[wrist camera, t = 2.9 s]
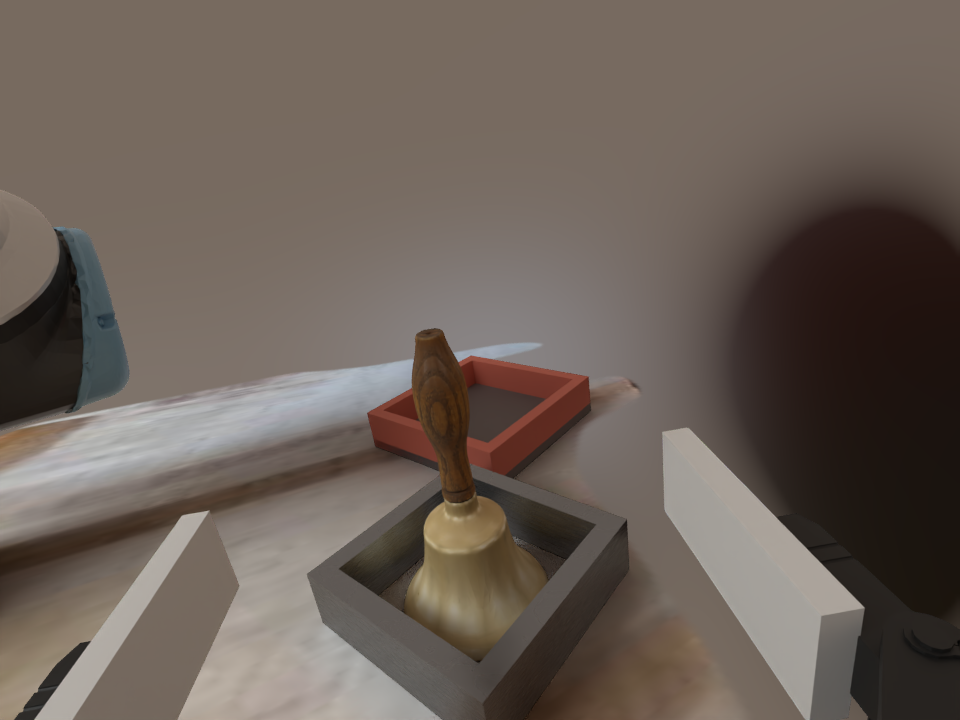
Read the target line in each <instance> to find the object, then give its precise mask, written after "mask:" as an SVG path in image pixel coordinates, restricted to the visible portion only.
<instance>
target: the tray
mask: <svg viewBox="0 0 960 720" xmlns="http://www.w3.org/2000/svg"><path fill="white" fill-rule="evenodd" d="M458 363H459V365H460V367H461V369H462V372H463V374H464V377H465V381H466V386H467V391H468V397H469V408H470V420H469V429H468V435H467V455H468V459H469V463H470V464H473V465H476V466H478V467H481V468H484V469H487V470H490V471H493V472H495V473H498V474H501V475H504V476H507V477H509V478H512V479H513V478H514V477H515V476H516V475H517V474H518V473H520V472H521V471H522V470H523V469H524V468H525V467H526V466H528V465H529V464H530V463H531V462H532V461H533V460H534V459H536V458H537V457H538V456H539V455H540V454H541V453H543V452H544V451H545V450H546V449H547V448H548V447H549V446H551V445H552V444H553V443H554V442H555V441H556V440H557V439H559V438H560V437H561V436H562V435H563V434H564V433H566V432H567V431H568V430H569V429H570V428H571V427H572V426H574V425H575V424H576V423H577V422H578V421H579V420H580V419H582V418H583V417H584V416H585V415H586V414H587V413H589V412H590V411H591V406H590V392H589V377H587V376H582V375H577V374H571V373H565V372H559V371H554V370H549V369H543V368H537V367H531V366H526V365H520V364H515V363H509V362H504V361H498V360H492V359H487V358H481V357H476V356H469V357H468V358H466V359H464V360H462V361H460V362H458ZM367 414H368V418H369V422H370V426H371V430H372V435H373V439H374V443H375V446H376V447H379V448H381V449H384V450H386V451H389V452H392V453H394V454H397V455H399V456H402V457H405V458H407V459H410V460H412V461H415V462H417V463H420V464H423V465H425V466H428V467H430V468H433V469H436V470H438V471H439V466H438V460H437V456H436V453H435V451H434V448H433V446H432V444H431V443H430V441H429V439H428V438H427V436H426V434H425V432H424V430H423V428H422V426H421V423H420V421H419V418H418V415H417V412H416V408H415V403H414V399H413V392H412V388H411V389H410V390H408V391H406V392H404V393H402V394H400V395H399V396H397V397H395V398H393V399H391V400H390V401H388V402H386V403H384V404H382V405H381V406H379V407H377V408H375V409H373V410H371V411H370V412H368V413H367Z"/></svg>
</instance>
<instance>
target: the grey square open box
mask: <svg viewBox="0 0 960 720" xmlns="http://www.w3.org/2000/svg"><path fill="white" fill-rule="evenodd" d="M469 464H470V463H469ZM470 468H471V472H472V477H473V481H474V485H475V491H476V495H477V496H482V497H485V498H488V499H491V500H493V501H494V502H496V503H497V504H498V505H499V506H500V507H501V508H502V509H503V511H504V513H505V516H506V518H507V522H508V526H509V529H510V532H511V535H513V536H515V537H517V538H520V539H522V540H524V541H526V542H529V543H531V544H533V545H535V546H538V547H540V548H542V549H544V550H547V551H549V552H551V553H553V554H556V555H558V556H560V557H563V558H565V559H567V560H566V561H565V562H564V564H563V565H562V566H561V567H560V568H559V569H558V571H557V572H556V573H555V574H554V575H553V577H552V578H551V579H550V580H549V581H548V583H547V584H546V585H545V586H544V587H543V588H542V590H541V591H540V592H539V593H538V594H537V596H536V597H535V598H534V599H533V600H532V601H531V603H530V604H529V605H528V606H527V607H526V609H525V610H524V611H523V612H522V613H521V615H520V616H519V617H518V618H517V619H516V620H515V622H514V623H513V624H512V625H511V626H510V628H509V629H508V630H507V631H506V632H505V634H504V635H503V636H502V637H501V638H500V639H499V641H498V642H497V643H496V644H495V645H494V647H493V648H492V649H491V650H490V651H489V652H488V654H487V655H486V656H485V657H484V658H483V660H482V661H481V662H480V663H477V662H476V661H474V660H473V659H471V658H470V657H468V656H467V655H465V654H464V653H462V652H461V651H459V650H458V649H456V648H455V647H453V646H452V645H450V644H449V643H447V642H446V641H445V640H443V639H442V638H440V637H439V636H437V635H436V634H434V633H433V632H431V631H430V630H428V629H427V628H425V627H424V626H422V625H421V624H419V623H418V622H416V621H415V620H413V619H412V618H410V617H409V616H407V615H406V614H404V613H403V612H401V611H400V610H399V609H397V608H396V607H394V606H393V605H391V604H390V603H388V602H387V601H385V600H384V599H382V598H381V597H379V596H378V595H379V594H380V593H382V592H383V591H384V590H385V589H386V588H387V587H388V586H390V585H391V584H392V583H393V582H394V581H395V580H396V579H398V578H399V577H400V576H401V575H402V574H403V573H405V572H406V571H407V570H408V569H409V568H410V567H411V566H413V565H414V564H415V563H416V562H417V561H418V560H419V559H421V558H422V557H423V556H424V555H425V544H424V525H425V521H426V519H427V517H428V516H429V514H430V513H431V512H432V511H433V510H434V509H435V508H436V507H437V506H438V505H440V504H441V503H443V502H445V501H444V497H443V494H442V485H441V479H440V476H438V477H437V478H436V479H434V480H433V481H431V482H430V483H429V484H427V485H426V486H425V487H423V488H422V489H421V490H419V491H418V492H417V493H415V494H414V495H413V496H411V497H410V498H409V499H407V500H406V501H405V502H403V503H402V504H401V505H399V506H398V507H397V508H395V509H394V510H393V511H391V512H390V513H388V514H387V515H386V516H384V517H383V518H382V519H380V520H379V521H378V522H376V523H375V524H374V525H372V526H371V527H370V528H368V529H367V530H366V531H364V532H363V533H362V534H360V535H359V536H358V537H356V538H355V539H354V540H352V541H351V542H350V543H348V544H347V545H346V546H344V547H343V548H341V549H340V550H339V551H337V552H336V553H335V554H333V555H332V556H331V557H329V558H328V559H327V560H325V561H324V562H323V563H321V564H320V565H319V566H317V567H316V568H315V569H313V570H312V571H311V572H309V573H308V574H307V576H308V579H309V582H310V585H311V588H312V591H313V594H314V597H315V600H316V603H317V606H318V609H319V612H320V615H321V618H322V621H323V623H324V624H325V625H327V626H328V627H329V628H330V629H332V630H333V631H334V632H335V633H337V634H338V635H339V636H340V637H342V638H343V639H344V640H345V641H346V642H348V643H349V644H350V645H351V646H353V647H354V648H355V649H356V650H358V651H359V652H360V653H361V654H362V655H364V656H365V657H366V658H367V659H369V660H370V661H371V662H372V663H374V664H375V665H376V666H377V667H378V668H380V669H381V670H382V671H383V672H385V673H386V674H387V675H388V676H390V677H391V678H392V679H393V680H394V681H396V682H397V683H398V684H399V685H401V686H402V687H403V688H404V689H406V690H407V691H408V692H409V693H410V694H412V695H413V696H414V697H415V698H417V699H418V700H419V701H420V702H422V703H423V704H424V705H425V706H426V707H428V708H429V709H430V710H431V711H433V712H434V713H435V714H436V715H438V716H439V717H440V718H441V719H442V720H524V719H525V717H526V716H527V714H528V713H529V711H530V710H531V709H532V707H533V706H534V704H535V703H536V701H537V700H538V699H539V697H540V696H541V694H542V693H543V691H544V690H545V689H546V687H547V686H548V684H549V683H550V681H551V680H552V679H553V677H554V676H555V674H556V673H557V671H558V670H559V668H560V667H561V666H562V664H563V663H564V661H565V660H566V658H567V657H568V656H569V654H570V653H571V651H572V650H573V648H574V647H575V646H576V644H577V643H578V641H579V640H580V638H581V637H582V636H583V634H584V633H585V631H586V630H587V628H588V627H589V626H590V624H591V623H592V621H593V620H594V618H595V617H596V616H597V614H598V613H599V611H600V610H601V608H602V607H603V606H604V604H605V603H606V601H607V600H608V598H609V597H610V596H611V594H612V593H613V591H614V590H615V588H616V587H617V586H618V584H619V583H620V581H621V580H622V578H623V577H624V576H625V574H626V573H627V571H628V570H629V555H628V533H627V519H625V518H622V517H619V516H616V515H614V514H611V513H608V512H605V511H602V510H599V509H597V508H594V507H591V506H588V505H585V504H583V503H580V502H577V501H574V500H571V499H569V498H566V497H563V496H560V495H557V494H554V493H552V492H549V491H546V490H543V489H540V488H538V487H535V486H532V485H529V484H526V483H524V482H521V481H518V480H515V479H512V478H509V477H507V476H504V475H501V474H498V473H495V472H493V471H490V470H487V469H484V468H481V467H478V466H476V465H473V464H470Z"/></svg>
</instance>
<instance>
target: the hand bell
mask: <svg viewBox="0 0 960 720" xmlns="http://www.w3.org/2000/svg"><path fill="white" fill-rule="evenodd" d="M415 342H416V346H415V357H414V363H413V370H412V392H413V399H414V403H415V408H416V412H417V415H418V418H419V421H420V423H421V426H422V428H423V430H424V432H425V434H426V436H427V438H428V439H429V441H430V443H431V444H432V446H433V448H434V451H435V453H436V456H437V460H438V466H439V472H440V479H441V485H442V494H443V497H444V501H445V502H443V503H441V504H440V505H438V506H437V507H436V508H435V509H434V510H433V511H432V512H431V513H430V514H429V516H428V517H427V519H426V521H425V525H424V544H425V555H424V564H423V565H422V566H421V567H420V568H419V570H418V571H417V572H416V574H415V575H414V577H413V579H412V580H411V583H410V585H409V587H408V590H407V593H406V596H405V602H404V614H406V615H407V616H409V617H410V618H412V619H413V620H415V621H416V622H418V623H419V624H421V625H422V626H424V627H425V628H427V629H428V630H430V631H431V632H433V633H434V634H436V635H437V636H439V637H440V638H442V639H443V640H445V641H446V642H447V643H449V644H450V645H452V646H453V647H455V648H456V649H458V650H459V651H461V652H462V653H464V654H465V655H467V656H468V657H470V658H471V659H473V660H474V661H482V660H483V658H484V657H485V656H486V655H487V654H488V652H489V651H490V650H491V649H492V648H493V647H494V645H495V644H496V643H497V642H498V641H499V639H500V638H501V637H502V636H503V635H504V634H505V632H506V631H507V630H508V629H509V628H510V626H511V625H512V624H513V623H514V622H515V620H516V619H517V618H518V617H519V616H520V615H521V613H522V612H523V611H524V610H525V609H526V607H527V606H528V605H529V604H530V603H531V601H532V600H533V599H534V598H535V597H536V596H537V594H538V593H539V592H540V591H541V590H542V588H543V587H544V586H545V585H546V584H547V583H548V581H549V580H548V577H547V574H546V572H545V571H544V569H543V568H542V566H541V565H540V563H539V562H538V561H537V560H536V559H535V558H534V557H533V556H532V555H531V554H530V553H529V552H527V551H526V550H525V549H523V548H521V547H519V546H518V545H516V544H515V542H514V540H513V538H512V535H511V532H510V529H509V526H508V522H507V518H506V516H505V513H504V511H503V509H502V508H501V507H500V506H499V505H498V504H497V503H496V502H494V501H493V500H491V499H488V498H485V497H482V496H477V495H476V491H475V485H474V481H473V477H472V472H471V468H470V464H469V459H468V455H467V435H468V429H469V420H470V408H469V397H468V391H467V386H466V381H465V377H464V374H463V372H462V369H461V367H460V365H459V363H458V361H457V359H456V357H455V356H454V354H453V352H452V351H451V349H450V347H449V346H448V343H447V341H446V339H445V336H444V333H443V331H442V330H440V329H436V328H434V329H428V330H423V331H421V332H419V333H417V334H416V337H415Z"/></svg>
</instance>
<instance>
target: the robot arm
mask: <svg viewBox="0 0 960 720" xmlns="http://www.w3.org/2000/svg"><path fill="white" fill-rule="evenodd" d="M128 379H129V366H128V361H127V356H126V352H125V348H124V344H123V341H122V337H121V333H120V330H119V326H118V323H117V320H116V319H115V313H114V310H113V306H112V302H111V298H110V294H109V291H108V288H107V284H106V281H105V278H104V275H103V272H102V269H101V266H100V262H99V259H98V256H97V253H96V251H95V248H94V245H93V243H92V240H91V238H90V236H89V235H88V234H87V233H86V232H84V231H83V230H80V229H77V228H69V229H67V228H64V227H57V228H56V227H55V228H53V227H52V226H51V224H50V223H49V222H48V220H47V219H46V218H45V217H44V215H43V214H42V213H41V212H40V211H39V210H38V209H37V208H35V207H34V206H33V205H32V204H30V203H29V202H27V201H25V200H23V199H22V198H20V197H18V196H15V195H13V194H11V193H8V192H6V191H3V190H0V431H2V430H6V429H10V428H13V427H17V426H20V425H24V424H27V423H31V422H34V421H38V420H41V419H44V418H48V417H52V416H55V415H59V414H62V413H71V412H75V411H77V410H79V409H80V408H81V407H82V406H85V405H87V404H90V403H93V402H96V401H99V400H101V399H105V398H108V397H111V396H113V395H115V394H117V393H119V392H120V391H121V390H122V389H123V388H124V387H125V385H126V384H127V382H128ZM662 436H663V475H664V510H665V512H666V513H667V515H668V516H669V518H670V519H671V521H672V522H673V524H674V525H675V527H676V528H677V530H678V531H679V533H680V534H681V536H682V537H683V539H684V540H685V542H686V543H687V544H688V546H689V547H690V549H691V551H692V552H693V554H694V555H695V556H696V558H697V559H698V561H699V562H700V564H701V565H702V567H703V568H704V570H705V571H706V573H707V574H708V576H709V577H710V579H711V580H712V581H713V583H714V585H715V586H716V588H717V589H718V591H719V592H720V594H721V595H722V597H723V598H724V600H725V601H726V602H727V604H728V606H729V607H730V608H731V610H732V612H733V613H734V614H735V616H736V617H737V619H738V620H739V622H740V623H741V625H742V626H743V628H744V629H745V631H746V632H747V634H748V635H749V637H750V638H751V640H752V641H753V643H754V644H755V646H756V647H757V648H758V650H759V651H760V653H761V654H762V656H763V658H764V659H765V660H766V662H767V664H768V665H769V666H770V668H771V669H772V671H773V672H774V674H775V675H776V677H777V678H778V680H779V681H780V683H781V684H782V686H783V687H784V689H785V690H786V692H787V693H788V695H789V696H790V698H791V699H792V701H793V702H794V703H795V705H796V707H797V708H798V710H799V711H800V713H801V714H802V715H803V717H804V719H805V720H840V719H845V718H848V716H849V709H850V702H851V696H852V697H853V698H854V699H855V700H856V702H857V703H858V704H859V705H860V707H861V708H862V709H863V711H864V712H865V713H866V714H867V716H868V720H960V630H959V629H958V628H956V627H955V626H953V625H952V624H950V623H948V622H946V621H944V620H941V619H938V618H936V617H934V616H931V615H928V614H923V613H917V612H913V611H911V610H910V609H909V608H908V607H907V606H906V605H905V604H904V603H903V602H902V601H900V600H899V599H898V598H897V597H896V596H895V595H894V594H893V593H892V592H891V591H890V590H889V589H888V588H887V587H885V586H884V585H883V584H882V583H881V582H880V581H879V580H878V579H877V578H876V577H875V576H874V575H873V574H871V573H870V572H869V571H868V570H867V569H866V568H865V567H864V566H863V565H862V564H861V563H859V562H858V561H857V560H856V559H853V557H852V555H851V554H850V553H849V552H848V551H846V550H845V549H844V548H843V547H842V546H839V545H838V542H837V541H836V540H835V539H833V537H832V536H830V535H829V534H828V533H827V532H826V531H825V530H824V529H823V528H822V527H821V526H819V525H817V524H816V523H814V522H812V521H810V520H808V519H806V518H804V517H802V516H800V515H799V514H797V513H796V514H791V515H785V516H779V517H775V516H774V515H773V514H772V513H771V512H770V511H769V510H768V509H767V508H766V507H765V506H764V505H763V503H762V502H760V501H759V499H758V498H756V496H755V495H754V494H753V493H752V492H751V491H750V490H749V489H748V488H747V487H746V486H745V485H744V484H743V483H742V482H741V481H740V480H739V479H738V478H737V477H736V476H735V475H734V474H733V473H732V472H731V471H730V470H729V469H728V468H727V467H726V466H725V465H724V464H723V463H722V462H721V461H720V460H719V459H718V458H717V456H715V454H714V453H713V452H712V451H711V450H710V449H709V448H708V447H707V446H706V445H705V444H704V443H703V442H702V441H701V440H700V439H699V438H698V437H697V436H696V435H695V434H694V433H693V432H692V431H691V430H690V429H689V428H682V429H677V430H671V431H665V432H662ZM238 588H239V583H238V581H237V578H236V576H235V573H234V571H233V568H232V566H231V563H230V561H229V558H228V556H227V553H226V551H225V548H224V546H223V543H222V541H221V538H220V536H219V533H218V531H217V528H216V526H215V523H214V521H213V518H212V516H211V513H210V511H204V512H199V513H193V514H187V515H182V516H181V518H180V519H179V521H178V522H177V523H176V525H175V526H174V528H173V529H172V530H171V532H170V533H169V534H168V536H167V537H166V539H165V540H164V541H163V543H162V544H161V545H160V547H159V548H158V550H157V551H156V552H155V554H154V555H153V557H152V558H151V559H150V561H149V562H148V563H147V565H146V566H145V568H144V569H143V570H142V572H141V573H140V574H139V576H138V577H137V579H136V580H135V581H134V583H133V584H132V586H131V587H130V588H129V590H128V591H127V592H126V594H125V595H124V597H123V598H122V599H121V601H120V602H119V603H118V605H117V606H116V608H115V609H114V610H113V612H112V613H111V615H110V616H109V617H108V619H107V620H106V621H105V623H104V624H103V626H102V627H101V628H100V630H99V631H98V632H97V634H96V635H95V637H94V638H93V639H92V641H89V642H83V643H80V644H79V645H78V646H77V647H75V648H74V649H73V650H72V651H71V652H70V653H69V654H68V655H66V656H65V657H64V658H63V659H62V660H61V661H60V662H59V663H58V664H56V666H55V667H54V668H53V669H52V671H51V672H50V673H49V675H48V676H47V677H46V679H45V680H44V681H43V683H42V684H41V685H40V687H39V688H38V689H39V690H38V692H37V693H34V694H33V696H32V697H31V698H30V700H29V701H28V702H27V704H26V705H25V706H24V710H23V712H21V713H19V714H18V715H17V717H16V718H15V719H14V720H177V719H178V717H179V715H180V713H181V710H182V708H183V706H184V704H185V702H186V700H187V698H188V695H189V693H190V691H191V689H192V687H193V685H194V682H195V680H196V678H197V676H198V674H199V672H200V670H201V667H202V665H203V663H204V661H205V659H206V657H207V655H208V652H209V650H210V648H211V646H212V644H213V642H214V639H215V637H216V635H217V633H218V631H219V629H220V627H221V624H222V622H223V620H224V618H225V616H226V614H227V612H228V609H229V607H230V605H231V603H232V601H233V599H234V597H235V594H236V592H237V590H238Z"/></svg>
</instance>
